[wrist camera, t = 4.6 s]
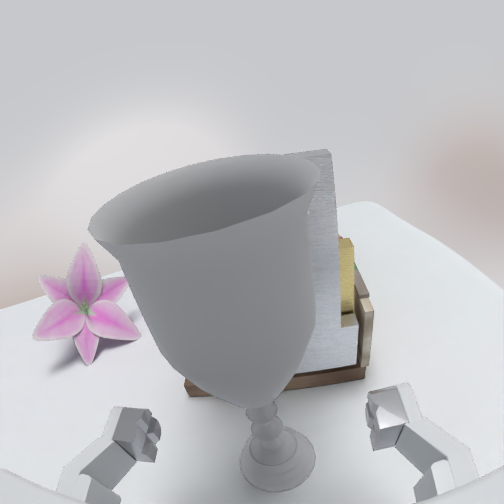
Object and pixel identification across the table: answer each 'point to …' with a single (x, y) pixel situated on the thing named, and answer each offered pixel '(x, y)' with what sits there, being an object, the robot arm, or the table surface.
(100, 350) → the table surface
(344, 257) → the drag pointer
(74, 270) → the lily
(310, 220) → the grey metal angled plate
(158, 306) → the chalice
